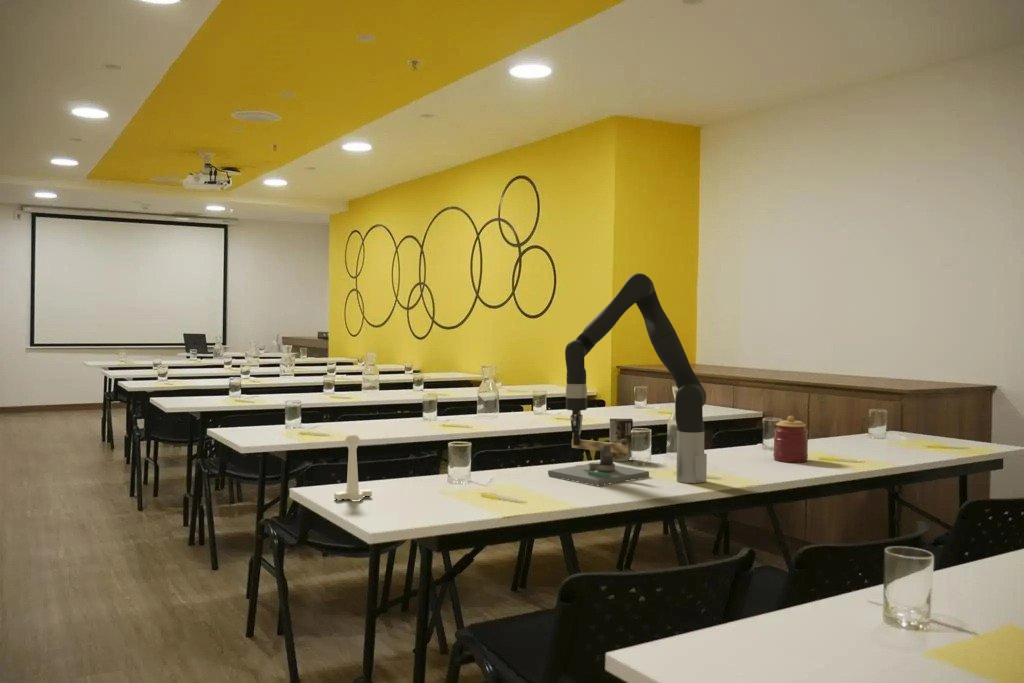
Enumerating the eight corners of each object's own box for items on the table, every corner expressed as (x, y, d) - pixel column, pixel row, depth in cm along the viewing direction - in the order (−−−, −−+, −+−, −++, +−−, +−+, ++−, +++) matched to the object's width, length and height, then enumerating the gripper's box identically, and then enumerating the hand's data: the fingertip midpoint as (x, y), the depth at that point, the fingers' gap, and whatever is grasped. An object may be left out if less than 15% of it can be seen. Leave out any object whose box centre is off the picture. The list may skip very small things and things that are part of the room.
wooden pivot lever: (632, 470, 298) (633, 438, 298) (620, 474, 291) (620, 441, 291) (579, 464, 312) (579, 432, 311) (566, 467, 304) (566, 435, 304)
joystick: (367, 495, 267) (367, 431, 266) (375, 500, 260) (375, 434, 260) (332, 499, 262) (332, 434, 261) (340, 503, 255) (340, 437, 254)
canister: (812, 463, 329) (813, 417, 328) (778, 463, 329) (779, 417, 328) (801, 457, 342) (802, 413, 341) (769, 457, 342) (769, 413, 341)
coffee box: (632, 459, 337) (632, 418, 337) (633, 461, 331) (633, 420, 330) (609, 458, 338) (609, 418, 338) (609, 461, 332) (609, 420, 331)
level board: (648, 476, 299) (649, 466, 299) (597, 486, 282) (597, 475, 282) (598, 467, 317) (599, 457, 317) (548, 476, 300) (548, 465, 300)
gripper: (584, 398, 296) (585, 447, 296) (589, 395, 309) (589, 442, 309) (563, 397, 298) (563, 447, 298) (568, 394, 311) (568, 442, 311)
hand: (576, 445), depth 304 cm, fingers closed
